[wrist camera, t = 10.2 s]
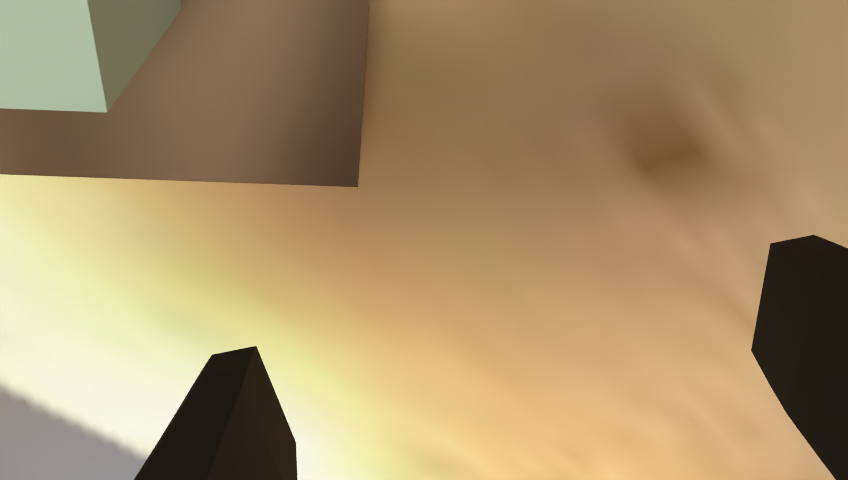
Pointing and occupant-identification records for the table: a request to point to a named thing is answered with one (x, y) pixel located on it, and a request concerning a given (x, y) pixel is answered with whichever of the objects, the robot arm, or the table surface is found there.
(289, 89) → the walnut base
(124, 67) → the sage block
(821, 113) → the table surface
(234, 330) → the table surface
